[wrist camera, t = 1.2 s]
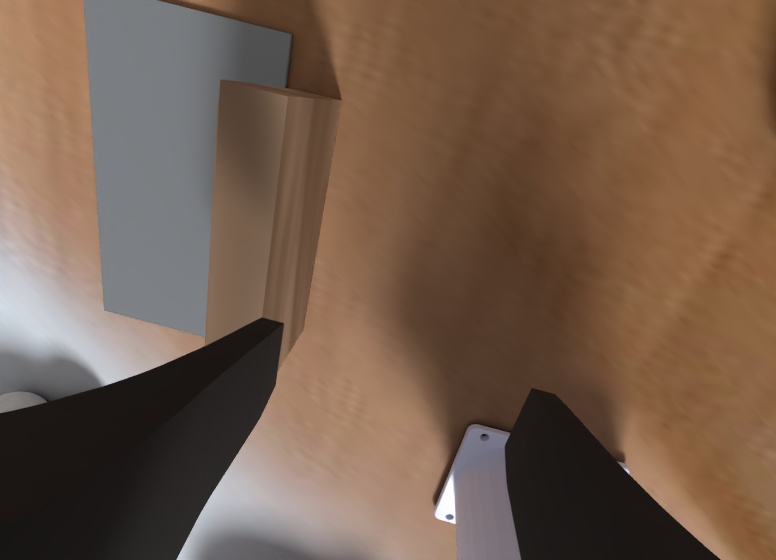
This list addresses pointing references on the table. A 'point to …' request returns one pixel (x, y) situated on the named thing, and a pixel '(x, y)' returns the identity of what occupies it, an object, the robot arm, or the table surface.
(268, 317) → the wooden block
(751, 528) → the table surface
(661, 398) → the table surface
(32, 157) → the table surface
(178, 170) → the felt mat
